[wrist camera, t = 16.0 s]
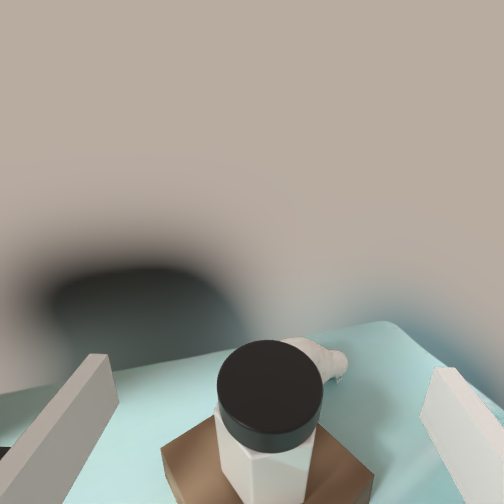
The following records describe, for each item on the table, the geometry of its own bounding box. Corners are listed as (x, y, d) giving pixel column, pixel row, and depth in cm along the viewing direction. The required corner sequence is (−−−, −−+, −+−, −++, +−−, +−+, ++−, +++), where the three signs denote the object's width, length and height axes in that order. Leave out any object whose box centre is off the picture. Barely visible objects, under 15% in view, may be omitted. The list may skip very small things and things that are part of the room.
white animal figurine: (268, 331, 41) (338, 319, 45) (263, 379, 43) (329, 364, 48) (289, 360, 35) (366, 344, 39) (282, 413, 38) (354, 392, 42)
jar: (297, 410, 32) (306, 331, 26) (328, 499, 25) (349, 418, 19) (217, 426, 30) (207, 346, 25) (226, 525, 23) (215, 446, 18)
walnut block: (166, 480, 31) (160, 448, 29) (269, 407, 40) (269, 379, 38) (247, 664, 20) (245, 631, 18) (367, 508, 28) (374, 475, 27)
